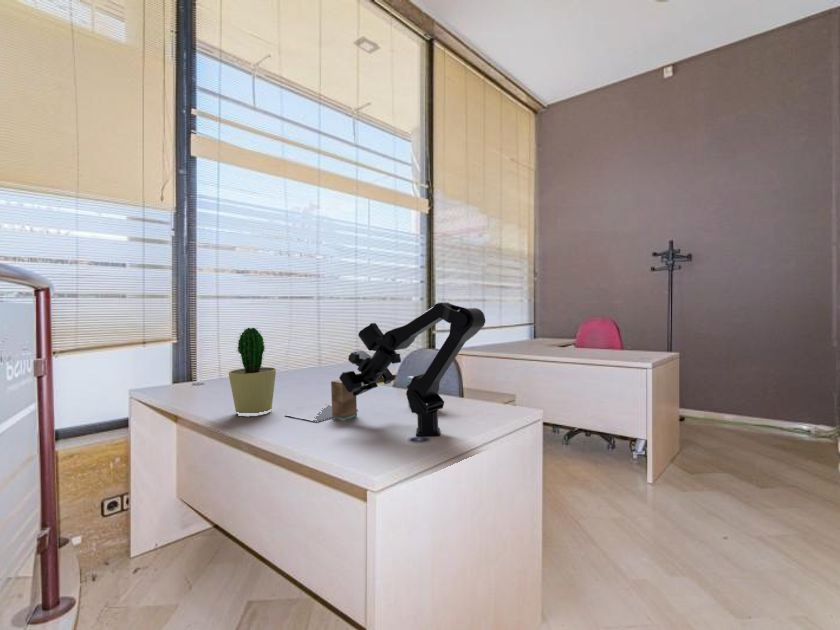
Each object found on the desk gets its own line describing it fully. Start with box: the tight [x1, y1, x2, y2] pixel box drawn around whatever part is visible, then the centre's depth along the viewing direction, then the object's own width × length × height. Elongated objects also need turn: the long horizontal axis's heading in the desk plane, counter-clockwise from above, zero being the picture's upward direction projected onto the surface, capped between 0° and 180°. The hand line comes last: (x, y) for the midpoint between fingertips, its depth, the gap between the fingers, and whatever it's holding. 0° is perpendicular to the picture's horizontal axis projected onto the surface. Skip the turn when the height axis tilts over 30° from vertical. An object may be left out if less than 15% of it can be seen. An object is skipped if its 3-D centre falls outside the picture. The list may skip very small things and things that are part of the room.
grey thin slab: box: [313, 404, 359, 422], centre depth 150 cm, size 16×18×1 cm
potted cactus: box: [227, 326, 277, 413], centre depth 153 cm, size 15×15×30 cm
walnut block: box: [330, 379, 358, 421], centre depth 143 cm, size 5×6×12 cm
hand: (354, 395), depth 141 cm, fingers closed
